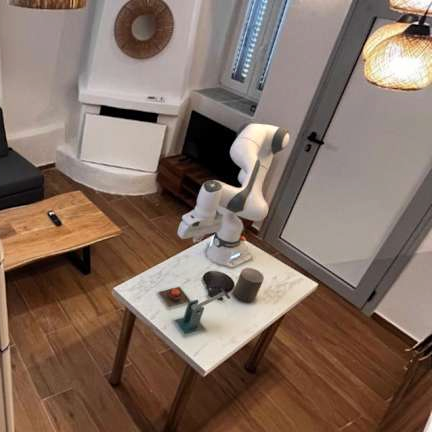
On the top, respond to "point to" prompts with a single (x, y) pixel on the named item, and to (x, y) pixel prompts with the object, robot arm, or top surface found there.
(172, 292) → the button
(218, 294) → the lever
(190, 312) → the bracket
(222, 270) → the top surface
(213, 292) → the gaming controller
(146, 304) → the top surface
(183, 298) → the control block
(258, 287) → the pillar candle
